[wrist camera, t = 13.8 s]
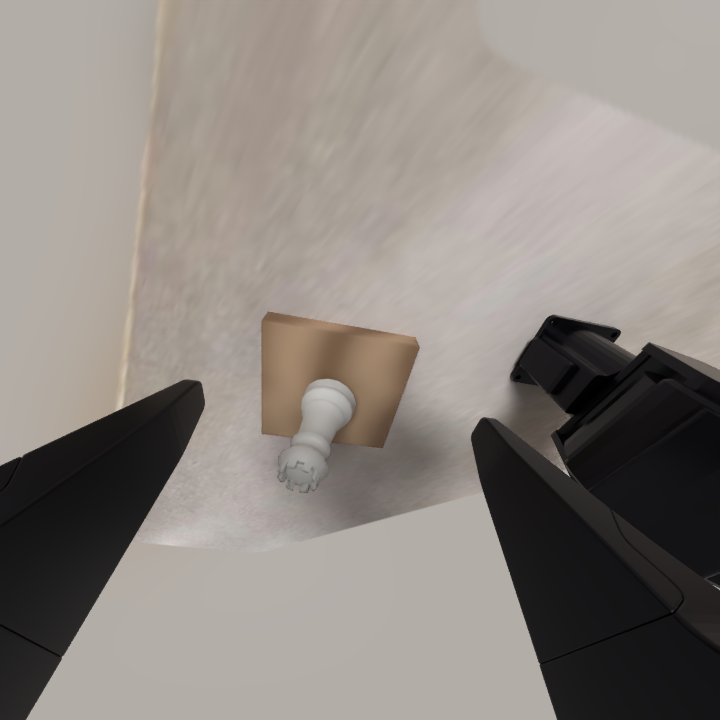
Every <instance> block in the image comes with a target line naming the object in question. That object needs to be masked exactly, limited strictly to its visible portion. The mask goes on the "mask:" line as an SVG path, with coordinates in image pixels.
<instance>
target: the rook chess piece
mask: <svg viewBox="0 0 720 720" xmlns="http://www.w3.org/2000/svg"><path fill="white" fill-rule="evenodd" d="M355 405H356V402H355V398H354V395H353V393H352V392H351V391H350V390H349V388H348V387H347V386H346V385H344V384H342V383H341V382H339V381H336V380H332V379H320V380H316V381H314V382H312V383H310V384H309V386H308V387H307V388H306V390H305V394H304V395H303V397H302V403H301V410H302V417H303V419H302V422H301V426H300V429H299V431H298V433H297V434H296V435H294V436H293V438H292V439H291V448H288V449H286V450H283V451H282V452H281V453H280V455H279V456H278V464H279V467H280V468H279V470H278V472H279V474H278V479H279V481H280V482H284V481H285V478H286V479H287V480H288V482H287V485H286V488H288V489H290V490H292V491H293V488H294V486H295V484H296V485H300V486H301V487H300V493H308V490H309V487H310V489H311V490H312V491H314V490H315V489H316V488H317V486H318V483H319V482H321V481H322V480H323V479H324V478H325V477H326V476H327V474H328V467H327V464H326V462H325V460H326V459H327V458H328V457H329V456H330V453H331V448H330V444H331V442H332V440H333V438H334V436H335V434H336V432H337V431H339V430H340V429H341V428H342V427H344V426H345V425H346V424H347V423H348V422H349V420H350V419H351V418H352V413H353V412H354V410H355Z"/></svg>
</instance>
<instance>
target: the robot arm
mask: <svg viewBox="0 0 720 720" xmlns="http://www.w3.org/2000/svg"><path fill="white" fill-rule="evenodd" d="M554 320H555V321H554ZM552 321H554V322H553V323H552ZM612 333H613V334H612ZM620 334H621V331H620V330H618V329H616V328H614V327H610V326H605V325H600V324H595V323H591V322H586V321H581V320H576V319H572V318H567V317H562V316H557V315H551V316H549V317H548V318H547V319H546V320H545V322H544V323H543V325H542V327H541V328H540V330H539V331H538V333H537V334H536V336H535V337H534V339H533V341H532V342H531V344H530V345H529V347H528V348H527V350H526V352H525V353H524V355H523V356H522V358H521V359H520V361H519V362H518V364H517V366H516V367H515V369H514V370H513V372H512V373H511V375H510V377H511V378H512V380H513V381H515V382H520V383H526V384H532V385H538V386H540V387H541V388H542V389H543V390H544V391H545V392H546V393H547V394H548V395H549V396H550V397H551V398H552V399H553V400H554V401H555V402H556V403H557V404H558V405H559V406H560V407H561V408H562V409H563V410H564V411H565V412H566V413H568V414H569V415H570V416H571V418H570V419H569V420H568V421H567V422H566V423H565V424H564V425H563V426H562V427H561V428H560V429H559V430H556V431H554V432H553V433H552V434H551V437H552V439H553V441H554V443H555V445H556V447H557V450H558V452H559V454H560V456H561V458H562V460H563V462H564V465H565V467H566V469H567V471H568V473H569V475H570V477H571V478H570V477H569V476H568V475H566V474H565V473H564V472H563V471H561V470H560V469H559V468H558V467H556V466H555V465H554V464H552V463H551V462H550V461H549V460H547V459H546V458H545V457H544V456H542V455H541V454H540V453H538V452H537V451H536V450H535V449H533V448H532V447H531V446H529V445H528V444H527V443H526V442H524V441H523V440H522V439H521V438H519V437H518V436H517V435H515V434H514V433H513V432H512V431H510V430H509V429H508V428H506V427H505V426H504V425H503V424H501V423H500V422H499V421H498V420H496V419H494V418H486V417H484V418H482V419H480V421H479V422H478V424H477V426H476V427H475V429H474V431H473V433H472V435H471V442H472V446H473V451H474V455H475V460H476V464H477V469H478V474H479V478H480V482H481V486H482V489H483V492H484V495H485V498H486V502H487V504H488V508H489V511H490V514H491V517H492V520H493V523H494V526H495V529H496V532H497V535H498V538H499V542H500V545H501V547H502V551H503V554H504V557H505V560H506V563H507V566H508V569H509V572H510V575H511V578H512V581H513V585H514V588H515V591H516V594H517V597H518V600H519V603H520V606H521V609H522V612H523V615H524V618H525V621H526V625H527V628H528V631H529V634H530V637H531V640H532V643H533V646H534V649H535V652H536V655H537V659H538V662H539V663H540V668H541V671H542V675H543V678H544V681H545V684H546V687H547V690H548V693H549V696H550V699H551V702H552V705H553V708H554V711H555V714H556V718H557V720H720V590H719V589H717V588H716V587H718V588H720V370H719V369H717V368H715V367H712V366H710V365H708V364H706V363H704V362H701V361H699V360H696V359H693V358H691V357H688V356H685V355H683V354H680V353H677V352H674V351H672V350H669V349H666V348H664V347H661V346H658V345H655V344H653V343H650V342H649V343H648V344H647V345H646V346H645V347H643V348H642V350H643V351H642V352H641V353H640V354H639V355H637V356H635V355H633V354H631V353H630V352H628V351H626V350H625V349H623V348H621V347H620V346H618V345H616V344H614V342H615V341H616V339H617V338H618V337H619V336H620ZM516 376H517V377H516ZM204 406H205V399H204V393H203V388H202V384H201V382H199V381H196V380H188V379H187V380H182V381H180V382H178V383H176V384H174V385H172V386H170V387H167V388H165V389H163V390H161V391H159V392H157V393H155V394H152V395H150V396H148V397H146V398H144V399H142V400H140V401H138V402H135V403H133V404H131V405H129V406H127V407H125V408H123V409H120V410H118V411H116V412H114V413H112V414H110V415H108V416H106V417H104V418H101V419H99V420H97V421H95V422H93V423H91V424H88V425H86V426H84V427H82V428H80V429H78V430H76V431H73V432H71V433H69V434H67V435H65V436H63V437H61V438H59V439H57V440H54V441H52V442H50V443H48V444H46V445H44V446H41V447H39V448H37V449H35V450H33V451H31V452H29V453H27V454H25V455H23V457H22V458H21V457H18V458H16V459H14V460H12V461H9V462H7V463H5V464H3V465H1V466H0V720H26V719H27V717H28V715H29V714H30V712H31V710H32V708H33V707H34V705H35V703H36V702H37V700H38V698H39V697H40V695H41V693H42V692H43V690H44V688H45V687H46V685H47V683H48V682H49V680H50V678H51V677H52V675H53V673H54V671H55V670H56V668H57V666H58V665H59V663H60V661H61V659H62V656H63V655H64V654H65V652H66V651H67V649H68V647H69V646H70V644H71V642H72V641H73V639H74V637H75V636H76V634H77V632H78V631H79V629H80V627H81V626H82V624H83V622H84V621H85V619H86V617H87V615H88V614H89V612H90V610H91V609H92V607H93V605H94V604H95V602H96V600H97V599H98V597H99V595H100V594H101V592H102V590H103V588H104V587H105V585H106V583H107V582H108V580H109V578H110V576H111V575H112V573H113V572H114V570H115V568H116V567H117V565H118V563H119V561H120V560H121V558H122V557H123V555H124V553H125V551H126V550H127V548H128V547H129V544H130V543H131V541H132V540H133V538H134V536H135V535H136V533H137V531H138V530H139V528H140V526H141V525H142V523H143V521H144V520H145V518H146V516H147V515H148V513H149V511H150V510H151V508H152V506H153V504H154V503H155V501H156V499H157V498H158V496H159V494H160V493H161V491H162V489H163V488H164V486H165V484H166V483H167V481H168V479H169V478H170V476H171V474H172V473H173V471H174V469H175V467H176V466H177V464H178V462H179V461H180V459H181V457H182V455H183V453H184V451H185V449H186V447H187V445H188V443H189V440H190V438H191V436H192V434H193V432H194V429H195V427H196V425H197V423H198V421H199V418H200V416H201V414H202V412H203V409H204ZM713 585H714V586H716V587H714V586H713Z"/></svg>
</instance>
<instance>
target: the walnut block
mask: <svg viewBox="0 0 720 720" xmlns="http://www.w3.org/2000/svg"><path fill="white" fill-rule="evenodd" d="M419 348H420V347H419V345H418V342H417V340H416V338H415V337H411V336H405V335H399V334H394V333H388V332H382V331H376V330H371V329H365V328H359V327H353V326H348V325H342V324H336V323H330V322H325V321H319V320H313V319H307V318H302V317H296V316H290V315H284V314H279V313H273V312H268V313H267V314H266V315H265V317H264V318H263V320H262V434H267V435H276V436H284V437H293V436H294V435H296V434H297V433H298V431H299V429H300V426H301V422H302V419H303V417H302V410H301V403H302V397H303V395H304V394H305V390H306V388H307V387H308V386H309V384H310V383H312V382H314V381H316V380H320V379H332V380H336V381H339V382H341V383H342V384H344V385H346V386H347V387H348V388H349V390H350V391H351V392H352V393H353V395H354V398H355V402H356V405H355V410H354V412H353V413H352V418H351V419H350V420H349V422H348V423H347V424H346V425H345V426H344V427H342V428H341V429H340V430H339V431H337V432H336V434H335V436H334V438H333V440H332V442H335V443H343V444H352V445H360V446H369V447H377V448H383V446H384V443H385V440H386V437H387V435H388V432H389V429H390V427H391V424H392V421H393V418H394V416H395V413H396V410H397V408H398V405H399V402H400V399H401V397H402V394H403V391H404V389H405V386H406V383H407V380H408V378H409V375H410V372H411V370H412V367H413V364H414V361H415V359H416V356H417V353H418V351H419Z"/></svg>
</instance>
